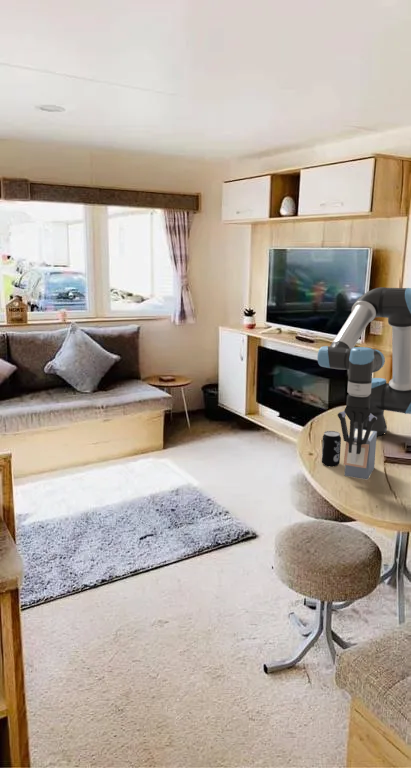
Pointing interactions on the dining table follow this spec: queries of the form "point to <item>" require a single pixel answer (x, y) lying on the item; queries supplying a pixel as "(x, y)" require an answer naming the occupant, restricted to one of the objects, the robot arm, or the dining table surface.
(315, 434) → the dining table surface
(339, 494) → the dining table surface
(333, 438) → the beverage can
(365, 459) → the stub
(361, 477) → the block
